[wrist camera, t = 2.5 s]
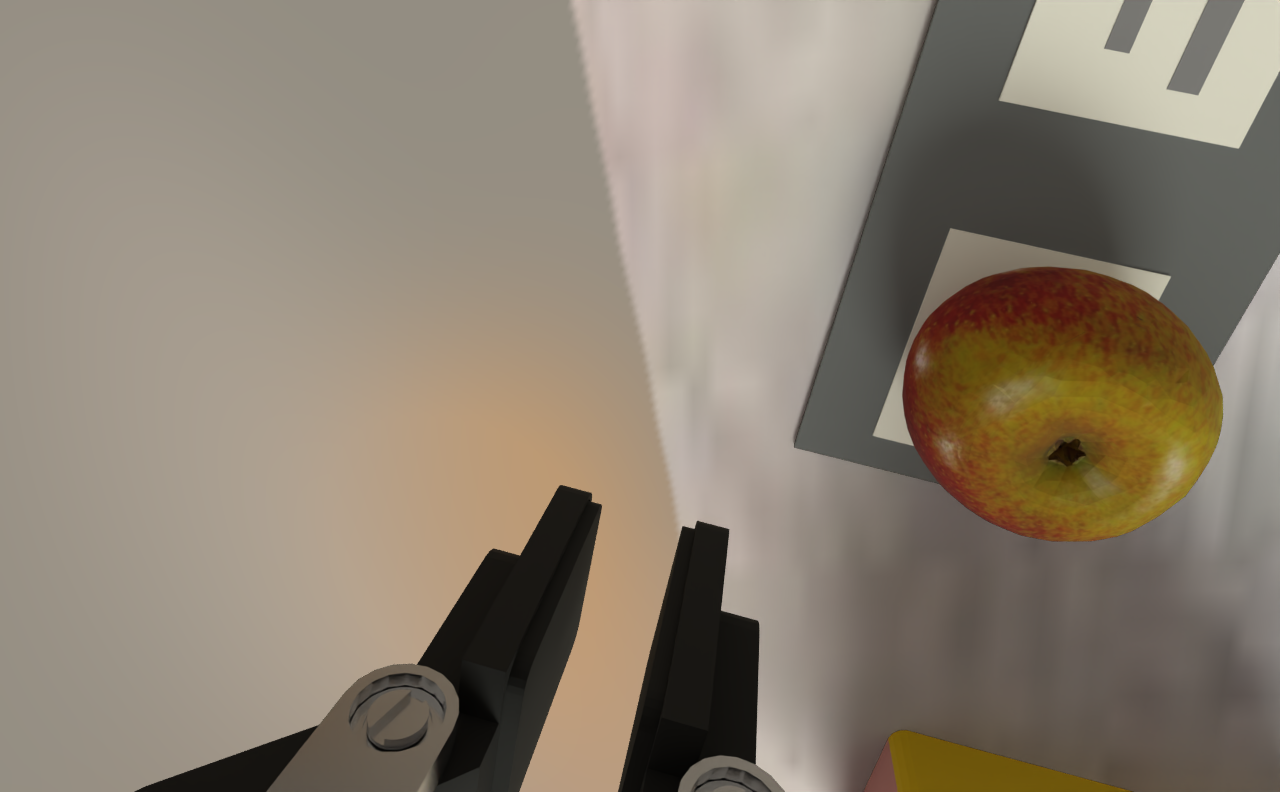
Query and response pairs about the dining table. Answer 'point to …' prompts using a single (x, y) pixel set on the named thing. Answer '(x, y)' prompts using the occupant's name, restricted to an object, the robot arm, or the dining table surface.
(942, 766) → the alarm clock
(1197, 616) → the dining table surface
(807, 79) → the dining table surface
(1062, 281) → the fruit
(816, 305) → the dining table surface
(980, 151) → the label mat
